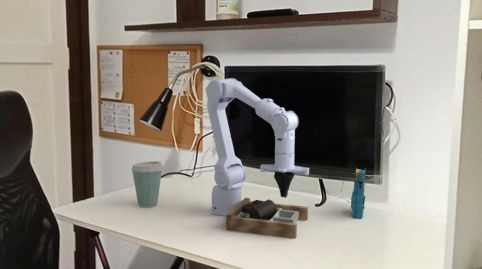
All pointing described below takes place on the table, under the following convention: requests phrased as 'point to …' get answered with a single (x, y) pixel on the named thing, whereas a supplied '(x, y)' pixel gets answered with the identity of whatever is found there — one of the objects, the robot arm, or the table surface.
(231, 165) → the robot arm
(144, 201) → the disposable coffee cup
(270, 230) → the brown wooden frame
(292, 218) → the pull tray
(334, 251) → the table surface
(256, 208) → the end cap
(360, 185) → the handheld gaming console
